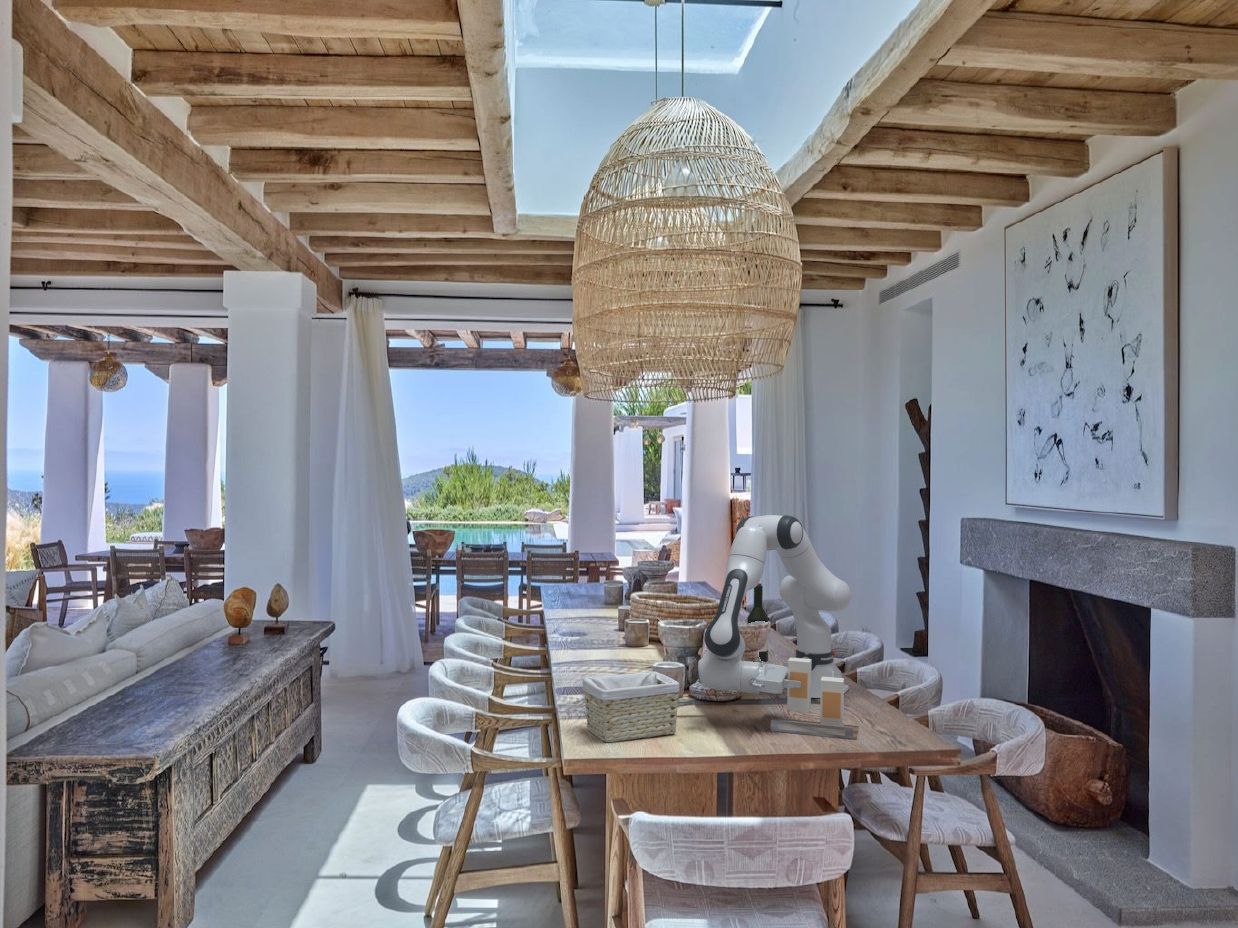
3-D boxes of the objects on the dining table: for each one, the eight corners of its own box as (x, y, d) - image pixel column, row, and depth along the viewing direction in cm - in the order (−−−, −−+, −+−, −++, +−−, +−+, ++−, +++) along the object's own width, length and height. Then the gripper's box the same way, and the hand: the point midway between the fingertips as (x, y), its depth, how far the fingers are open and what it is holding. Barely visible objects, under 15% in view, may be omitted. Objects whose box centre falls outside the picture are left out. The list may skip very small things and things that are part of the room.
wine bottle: (765, 658, 347) (766, 582, 347) (770, 662, 338) (771, 585, 339) (744, 657, 346) (745, 582, 347) (748, 662, 338) (749, 584, 338)
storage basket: (601, 745, 231) (601, 689, 231) (579, 728, 246) (580, 676, 246) (681, 736, 240) (682, 682, 240) (656, 720, 255) (657, 670, 255)
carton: (821, 726, 246) (822, 676, 246) (843, 728, 244) (844, 678, 245) (820, 731, 241) (820, 680, 241) (842, 733, 239) (842, 682, 240)
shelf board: (773, 722, 254) (773, 707, 254) (858, 731, 247) (859, 715, 247) (766, 736, 241) (767, 719, 241) (856, 745, 234) (856, 728, 234)
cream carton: (789, 706, 249) (790, 657, 249) (810, 708, 247) (811, 659, 247) (787, 711, 244) (787, 660, 244) (808, 713, 242) (809, 662, 242)
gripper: (747, 673, 240) (798, 678, 236) (758, 659, 259) (806, 663, 255) (747, 696, 240) (798, 701, 235) (758, 680, 259) (805, 685, 255)
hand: (802, 681), depth 245 cm, fingers closed on cream carton, 5 cm apart
